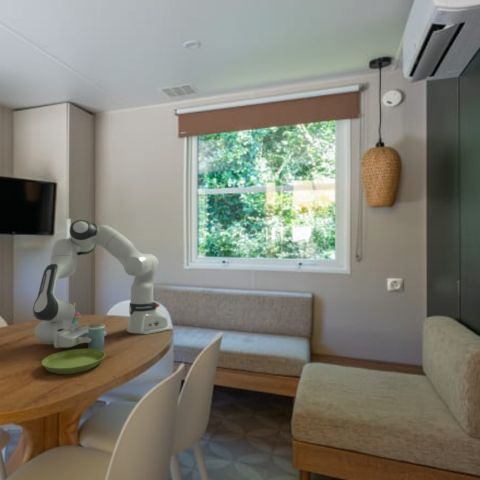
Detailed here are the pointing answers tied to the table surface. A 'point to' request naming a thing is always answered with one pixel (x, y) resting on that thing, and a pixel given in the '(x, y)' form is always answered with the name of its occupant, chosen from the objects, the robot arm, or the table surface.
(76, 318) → the cupcake
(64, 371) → the saucer
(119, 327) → the table surface
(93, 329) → the beaker
